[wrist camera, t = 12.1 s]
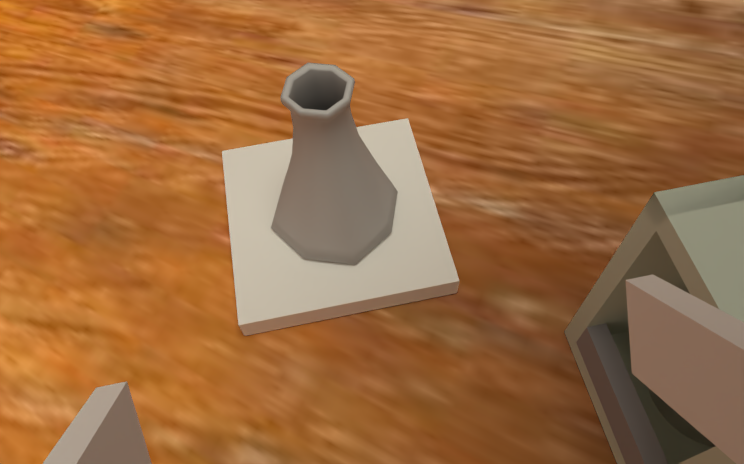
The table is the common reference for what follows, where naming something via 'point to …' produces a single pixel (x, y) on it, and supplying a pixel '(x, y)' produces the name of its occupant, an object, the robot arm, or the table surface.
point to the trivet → (324, 278)
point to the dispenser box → (610, 315)
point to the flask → (330, 173)
